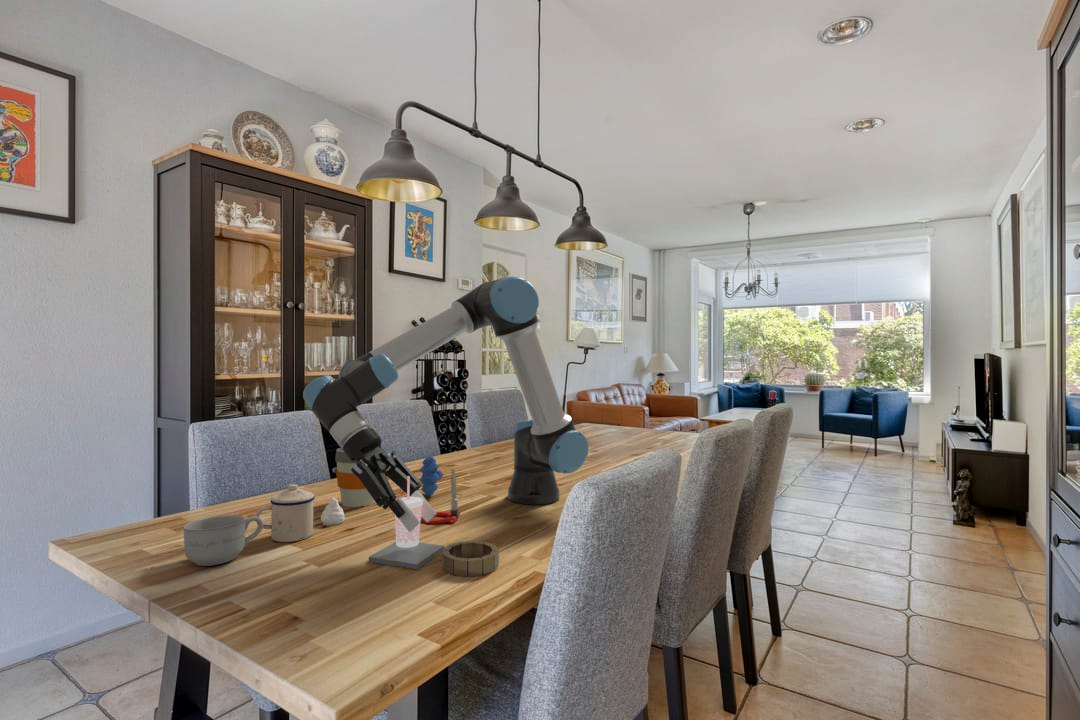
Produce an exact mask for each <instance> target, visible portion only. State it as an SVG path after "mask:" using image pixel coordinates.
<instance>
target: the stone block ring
mask: <svg viewBox="0 0 1080 720" xmlns="http://www.w3.org/2000/svg"><path fill="white" fill-rule="evenodd" d="M441 555H442V557H441V559H442V560H441V562H442V563H441V567H442V570H443V571H444V572H445V571H446V573H448V574H450V575H452V576H455V575H456V577H457V576H458V577H463V578H464V577H465V578H471V577H478V576H479V577H480V576H485V575H488V574H490V573H493V572H495V570H497V568H498V567H499V565H500V564H499V559H500V556H499V555H500V550H499V548H498V547H497V546H496V545H495V544H493V543H489V542H486V541H480V540H466V541H458V542H455V543H451V544H448V545H447V546H445V547H444V549H443V550H442V552H441Z"/></svg>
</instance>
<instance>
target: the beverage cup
mask: <svg viewBox="0 0 1080 720" xmlns="http://www.w3.org/2000/svg"><path fill="white" fill-rule="evenodd" d="M409 493H410V476H407V493H406V496H402V497H400V498H401V499H402V500H403V502H404V503H405V504H406V505H407V507H408V508H409V509H410V511H411V512H412V513H413V514H414V516H415V517H416V518H417V520H418V521H419V522H420V523H419V524H418V525H417V526H416V527H415V528H414V529H413V530H412V531H411V532H409V531H408V530H407V529H406V527H405V526H404V525H403V523H402V522H401V521H400V520H399V518H398V517H396V515H395V514H394V524H395V525H394V527H395V529H394V531H395V542H396V545H397V546H398V547H402V548H409V547H414V546H417V545H418V544H419V542H420V534H421V533H420V532H421V522H422V521H421V517H422V516H421V508H422V505H423V499H422V498H419V497H410V496H409ZM398 498H399V497H396V500H397V499H398Z"/></svg>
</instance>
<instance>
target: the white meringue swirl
mask: <svg viewBox="0 0 1080 720" xmlns="http://www.w3.org/2000/svg"><path fill="white" fill-rule="evenodd" d="M320 520H321V522H322V523H321V524H322V525H323V524H324V526H337V525H341V524H343V523H344V522H345V520H346V519H345V512H344V510H343V508H342V507H341V506H340V505H339V501H338V499H336V497H331V499H330V501H329V503H328V504H326V506H325V508H324V509H323V511H322V513H321V516H320ZM340 523H341V524H340Z"/></svg>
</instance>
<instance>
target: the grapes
mask: <svg viewBox="0 0 1080 720" xmlns="http://www.w3.org/2000/svg"><path fill="white" fill-rule="evenodd" d="M421 464H422V466H421V468H420V469H419V471H420V472H421V473H422V475H421V477H420V479H419V481H420V482H421V484H422V486H421V487H420V490H421V491H422V492H423V493H424V494H425V495H426V496H427V497H429V496H430V497H432V496H433V495H434V494H435V492H436V491H437V489H438V488H439V486H438V484H437V483H438V481H440V480H442V478H443V477H444V473H443V472H442V471H441V470H440V469H439V468H440V466H439V465H438V464H437V460H436V459H435V457H434V456H427V457H425V458H424V459H423V461H422V463H421Z"/></svg>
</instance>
